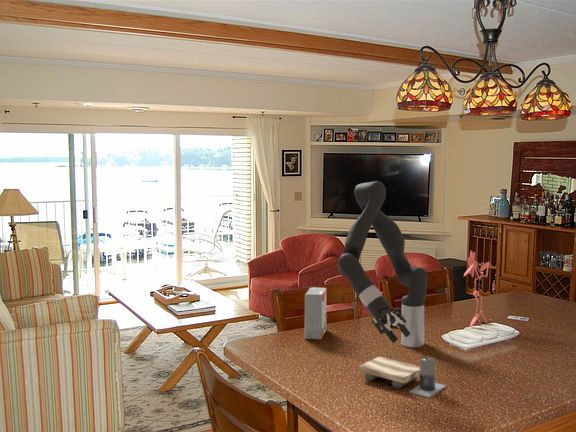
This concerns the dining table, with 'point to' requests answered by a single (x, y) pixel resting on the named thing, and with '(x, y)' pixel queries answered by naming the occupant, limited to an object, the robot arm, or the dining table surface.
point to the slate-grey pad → (427, 393)
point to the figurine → (471, 269)
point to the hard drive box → (315, 313)
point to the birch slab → (390, 371)
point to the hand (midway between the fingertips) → (402, 338)
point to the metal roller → (427, 373)
